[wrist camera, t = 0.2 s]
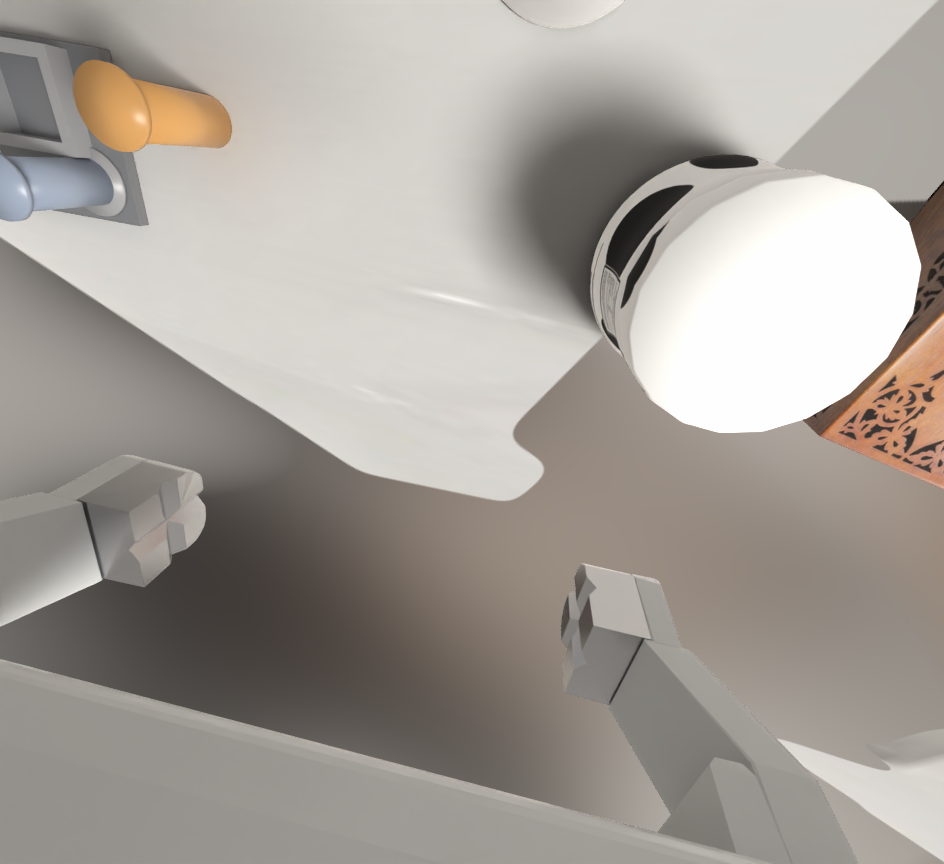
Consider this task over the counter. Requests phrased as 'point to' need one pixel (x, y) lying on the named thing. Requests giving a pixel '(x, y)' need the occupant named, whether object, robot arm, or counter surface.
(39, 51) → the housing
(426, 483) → the counter surface
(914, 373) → the tissue box cover
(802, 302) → the milk container
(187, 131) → the pin
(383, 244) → the counter surface
